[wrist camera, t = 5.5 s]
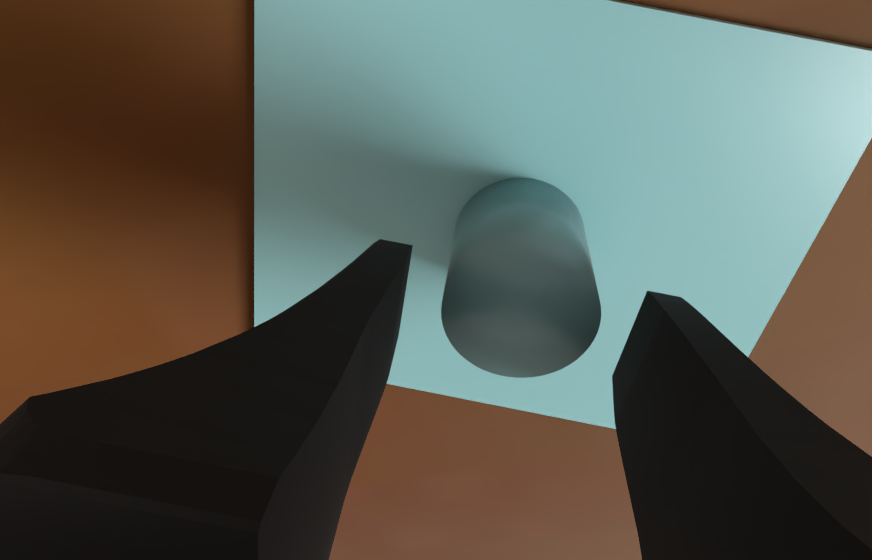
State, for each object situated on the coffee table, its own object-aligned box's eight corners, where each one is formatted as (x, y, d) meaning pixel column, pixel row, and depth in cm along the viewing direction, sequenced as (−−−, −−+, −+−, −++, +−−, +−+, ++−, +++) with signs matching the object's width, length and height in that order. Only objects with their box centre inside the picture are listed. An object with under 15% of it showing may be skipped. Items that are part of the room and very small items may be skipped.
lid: (885, 48, 12) (1039, 108, 8) (689, 418, 17) (733, 548, 13) (273, -70, 12) (174, -58, 8) (267, 334, 17) (205, 443, 13)
